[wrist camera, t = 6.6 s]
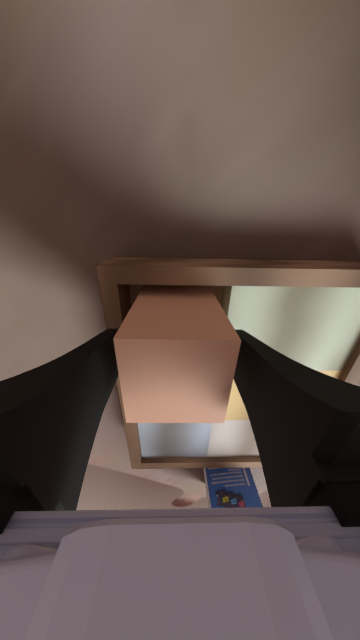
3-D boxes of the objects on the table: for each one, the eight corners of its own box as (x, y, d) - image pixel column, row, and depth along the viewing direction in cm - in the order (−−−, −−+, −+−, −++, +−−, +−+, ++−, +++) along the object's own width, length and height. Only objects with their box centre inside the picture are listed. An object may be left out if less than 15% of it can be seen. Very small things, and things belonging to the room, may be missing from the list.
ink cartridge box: (242, 481, 27) (303, 712, 14) (205, 484, 27) (231, 715, 14) (244, 441, 23) (336, 722, 10) (200, 445, 23) (232, 725, 10)
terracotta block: (209, 286, 13) (241, 340, 7) (203, 341, 15) (224, 423, 9) (144, 285, 13) (113, 338, 7) (147, 341, 15) (125, 422, 9)
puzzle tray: (365, 261, 13) (423, 270, 10) (288, 433, 22) (306, 466, 19) (115, 256, 13) (95, 265, 10) (138, 434, 22) (131, 468, 19)
